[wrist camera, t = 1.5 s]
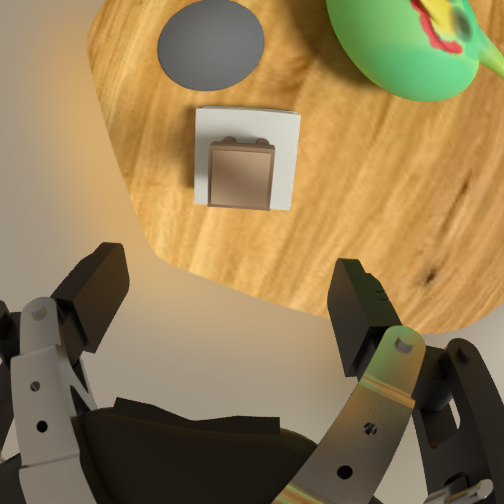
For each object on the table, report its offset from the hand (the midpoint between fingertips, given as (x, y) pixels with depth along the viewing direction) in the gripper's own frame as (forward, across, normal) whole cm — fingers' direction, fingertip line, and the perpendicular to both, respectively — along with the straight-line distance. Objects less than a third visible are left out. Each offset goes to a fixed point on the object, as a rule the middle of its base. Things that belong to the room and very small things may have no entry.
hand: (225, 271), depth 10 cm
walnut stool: (+19, 0, 0) cm, 19 cm away
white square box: (+24, 0, 0) cm, 24 cm away
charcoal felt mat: (+24, +5, -13) cm, 28 cm away
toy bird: (+24, -15, -18) cm, 34 cm away
